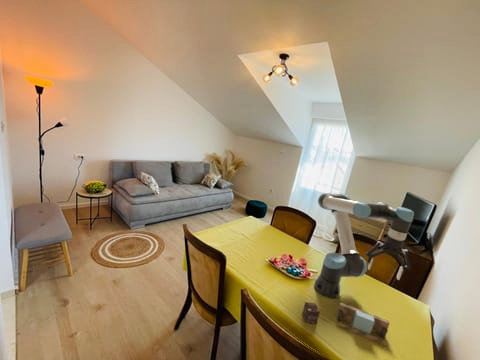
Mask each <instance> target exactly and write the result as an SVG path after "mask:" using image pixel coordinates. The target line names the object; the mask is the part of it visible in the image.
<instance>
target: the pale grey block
mask: <svg viewBox="0 0 480 360" xmlns="http://www.w3.org/2000/svg"><path fill="white" fill-rule="evenodd" d="M374 322H375V321H374V317H373V316H370V315H368V314H365V313H362V312H360V311H357V310H356V312H355V315H354V318H353V321H352V323H350V324H351V326H350V327H352V328H354V329H357V330H359V331H361V332H364V333H366V334H369V335H371V332H372V331H371V330H372V328H373V325H374Z"/></svg>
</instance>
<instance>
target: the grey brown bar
mask: <svg viewBox="0 0 480 360" xmlns="http://www.w3.org/2000/svg"><path fill="white" fill-rule="evenodd" d="M356 310H357V311H360V312H362V313H365V314H368V315H370V316H373V317H374V321H375V322H374V325H373V328H372V330H371V332H373V333H376V334H378V335H380V336H379V337H380V338H381V339H380V338H379V337H375V336H374V335H371V334H370V335H369V334H366V333H364V332H361V331H359V330H357V329H354V328H352V326H349V325H347V324H345V323H341V321H342V320H343V321H345V322H348V323H350V324H352V321H353V318H354V315H355V312H356ZM335 317H336V321H337V322H336V327H340V328H342V329H344V330H347V331H349V332H351V333H354V334H357V335H359V336H361V337H363V338H366V339H369V340H371V341H373V342H376V343H378V344H380V345H382V346H385V347H388V346H389V342H388V341H385V340H384V339H386V336H387V333H388V331H389V330H388V329H389V326H390V324H391V323H390V320H388V319H386V318H383V317H380V316H378V315H375V314H372V313H369V312H367V311H366V310H365V311H364V310H362V309H359V308H356V307H355V306H351V305H348V304H346V303H343V302H341V301H340V302H339V305H338V308H337V311H336V315H335Z"/></svg>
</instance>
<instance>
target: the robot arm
mask: <svg viewBox="0 0 480 360" xmlns="http://www.w3.org/2000/svg"><path fill="white" fill-rule="evenodd" d="M317 203H318V206H319V207H320V208H321V209H323V210H326V211H331V214H332V216H334V220H335V224H336V225H335V226H336V229H337V235H338V239H339V244H340V248H341V253H337V252H329V253H327V254H326V255H325V256H324V259H323V262H322V267H321V271H320V274H319V275H318V276H317V278H316V279H315V281H314V285H313V286H314V288H315V290H316V292H318V293H319V294H321V295H322V296H324V297H326V298H328V299H329V298H330V299H336V298H339V296H340V294H341V285H340V284H341V283H340V282H341V279H342V278H351V277H352V278H358V277H363V276H365V274H366V272H367V270H371V268H372V265H373V263H374V262H373V261H374V258H375V257H377V256H379V255H381V254H382V255H383V254H385V253H386V254H388V255H392V256H395V257H396V258H397V259H398V262H399V263H400V265H401V266H399V269H398V272H397V274H396V280H397V281H400V279H401V277H402V275H404V274H405V272H406V271H408V270H409V271H411V270H412V267H411V263H410V258H409V253H410V252H409V250H408V249H407V248H405V249H403V246H404V244H405V240H406V238H407V236H408V232H409V229H410V227H411V224H412V222H413V221H414V216H415V212H414V210H411V209H409V208H406V207H401V206H398V207H394V206H391V205H389V204H387V203H384V202H381V201H380V202H376V203H368V202H360V201H355V200H351V197H350V196H348V195H346V194H343V193H330V192H327V193H322V194H320V196H319V197H318V199H317ZM349 214H350V215H353V216H354V215H355V217H357V218H365V219H366V218H368V219H381V220H382V219H383V220H385V221H387V222H389V223H390V226H389V229H388V232H387V235H386V237H385V240H384V242H381V241H380V240H377V241H376V243H375V244H373V246H372V247H370V248H369V249H368V250H367V251H366V252H365V255H366V256H367V257H368V258H367V261H366V260H365V259H364V258H363V257H362V256H361V254H360V252H359V251H358V250H357V248H356V244H355V239H354V235H353V230H352V226H351V221H350V217H349ZM382 246H383V247H382ZM379 247H380V249H379ZM400 253H402V254H403V255H404V258H405V262H404V261H403V259H402V258H401V255H400ZM405 263H406V265H405Z"/></svg>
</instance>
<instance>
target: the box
mask: <svg viewBox="0 0 480 360" xmlns="http://www.w3.org/2000/svg"><path fill="white" fill-rule="evenodd" d="M320 313H321V311H320V309H319V307H318V304H317V302H307V301H304V305H303V310H302V316H303V319H304V322H305V323H306V324H315V325H316V324H317V323H318V320H319V316H320Z"/></svg>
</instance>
